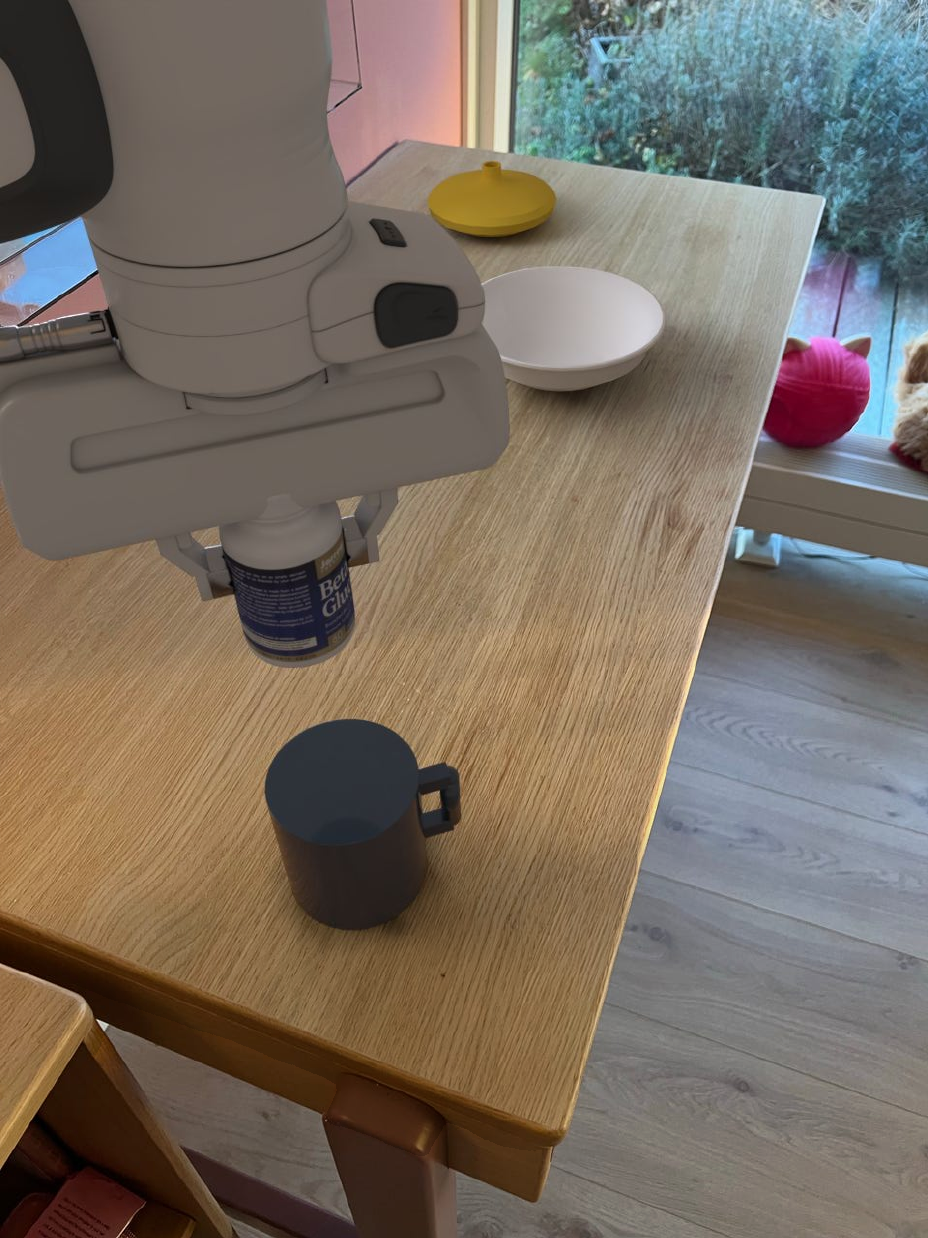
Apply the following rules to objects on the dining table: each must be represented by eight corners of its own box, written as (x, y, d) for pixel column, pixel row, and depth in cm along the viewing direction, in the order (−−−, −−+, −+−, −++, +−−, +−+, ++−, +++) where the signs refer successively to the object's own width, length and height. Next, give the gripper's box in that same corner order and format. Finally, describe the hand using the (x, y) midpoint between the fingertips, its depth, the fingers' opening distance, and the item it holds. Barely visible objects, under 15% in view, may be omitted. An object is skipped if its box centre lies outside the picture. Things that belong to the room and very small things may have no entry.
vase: (571, 242, 120) (574, 182, 115) (442, 258, 118) (439, 198, 113) (536, 190, 131) (538, 134, 126) (418, 204, 129) (414, 147, 124)
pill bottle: (351, 672, 47) (326, 508, 40) (237, 673, 47) (192, 509, 40) (361, 592, 51) (340, 429, 44) (255, 593, 51) (217, 431, 44)
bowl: (558, 455, 90) (561, 393, 85) (418, 369, 101) (414, 311, 96) (701, 373, 99) (710, 314, 94) (558, 303, 109) (560, 246, 105)
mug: (304, 948, 57) (279, 865, 51) (277, 829, 63) (252, 740, 56) (483, 894, 59) (481, 807, 53) (442, 783, 65) (435, 692, 59)
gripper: (-77, 388, 32) (58, 677, 42) (526, 281, 36) (520, 567, 46) (-66, 298, 36) (54, 579, 46) (472, 212, 40) (477, 487, 50)
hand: (290, 572), depth 46 cm, fingers closed on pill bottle, 5 cm apart
